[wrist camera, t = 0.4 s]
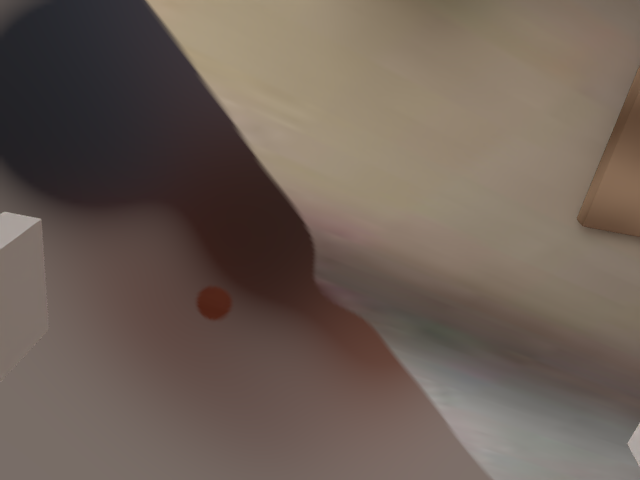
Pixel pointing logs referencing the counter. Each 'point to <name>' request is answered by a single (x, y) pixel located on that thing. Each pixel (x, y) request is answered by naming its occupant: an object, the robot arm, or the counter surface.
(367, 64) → the counter surface
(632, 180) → the post board
